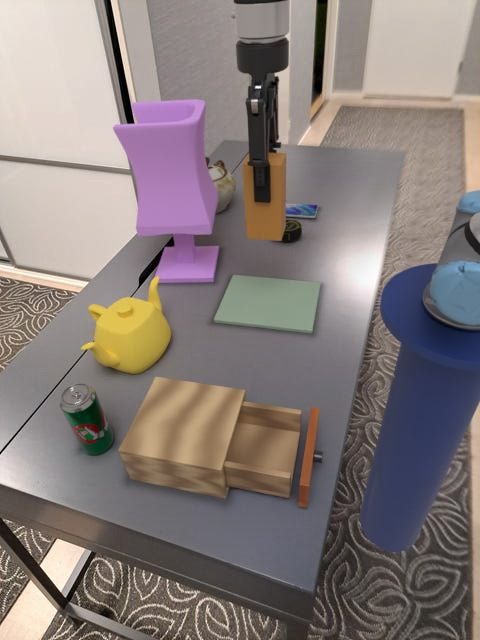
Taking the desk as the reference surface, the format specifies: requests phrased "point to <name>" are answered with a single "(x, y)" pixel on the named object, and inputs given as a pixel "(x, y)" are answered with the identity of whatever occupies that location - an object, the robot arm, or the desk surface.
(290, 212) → the smartphone
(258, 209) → the orange rectangular block
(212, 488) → the cabinet
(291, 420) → the drawer
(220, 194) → the sugar bowl
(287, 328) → the mat
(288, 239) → the tape measure
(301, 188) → the desk surface
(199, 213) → the vase
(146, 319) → the teapot
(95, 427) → the soda can
